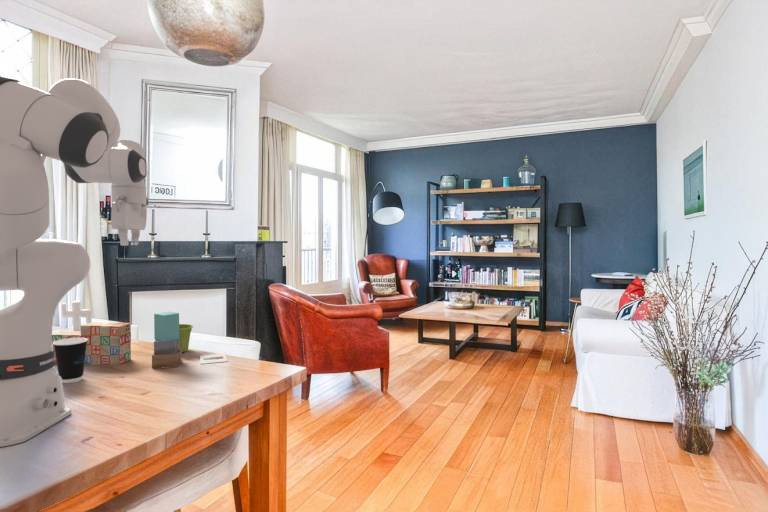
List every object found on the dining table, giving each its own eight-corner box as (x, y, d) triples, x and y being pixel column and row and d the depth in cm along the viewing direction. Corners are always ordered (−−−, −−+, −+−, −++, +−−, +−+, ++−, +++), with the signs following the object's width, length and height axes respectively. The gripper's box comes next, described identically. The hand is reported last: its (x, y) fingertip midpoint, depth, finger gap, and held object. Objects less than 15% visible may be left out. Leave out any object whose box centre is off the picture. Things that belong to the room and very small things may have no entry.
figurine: (89, 341, 170) (88, 301, 169) (59, 342, 167) (58, 302, 166) (93, 337, 177) (93, 299, 176) (65, 338, 174) (64, 300, 173)
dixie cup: (86, 382, 122) (86, 342, 122) (50, 386, 118) (50, 345, 118) (90, 374, 129) (89, 336, 129) (56, 378, 125) (55, 339, 125)
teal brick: (179, 338, 140) (179, 313, 140) (164, 341, 136) (164, 315, 136) (169, 336, 143) (169, 311, 142) (154, 339, 138) (154, 313, 138)
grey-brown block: (177, 367, 137) (176, 341, 137) (151, 368, 135) (151, 342, 135) (181, 361, 144) (181, 336, 144) (157, 362, 142) (157, 337, 142)
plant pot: (193, 347, 162) (193, 323, 162) (192, 353, 153) (192, 328, 153) (165, 349, 159) (164, 324, 159) (162, 355, 150) (161, 330, 150)
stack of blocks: (51, 364, 140) (51, 324, 139) (66, 358, 146) (65, 321, 145) (119, 365, 139) (119, 325, 139) (131, 359, 145) (131, 322, 145)
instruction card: (227, 361, 144) (227, 360, 144) (200, 364, 140) (200, 363, 140) (225, 354, 153) (225, 353, 153) (199, 356, 150) (199, 355, 150)
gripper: (129, 195, 122) (130, 246, 123) (150, 201, 142) (150, 244, 143) (103, 194, 121) (104, 246, 121) (128, 200, 141) (128, 244, 141)
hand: (129, 245), depth 132 cm, fingers open, 8 cm apart
